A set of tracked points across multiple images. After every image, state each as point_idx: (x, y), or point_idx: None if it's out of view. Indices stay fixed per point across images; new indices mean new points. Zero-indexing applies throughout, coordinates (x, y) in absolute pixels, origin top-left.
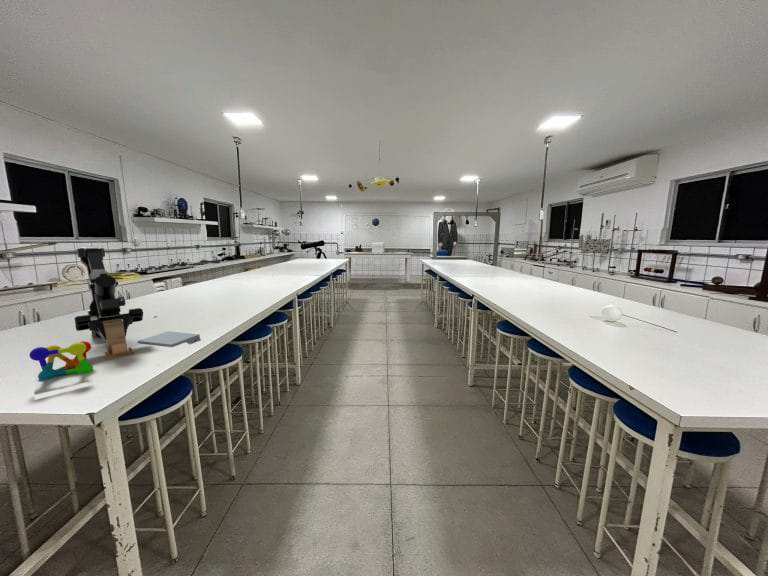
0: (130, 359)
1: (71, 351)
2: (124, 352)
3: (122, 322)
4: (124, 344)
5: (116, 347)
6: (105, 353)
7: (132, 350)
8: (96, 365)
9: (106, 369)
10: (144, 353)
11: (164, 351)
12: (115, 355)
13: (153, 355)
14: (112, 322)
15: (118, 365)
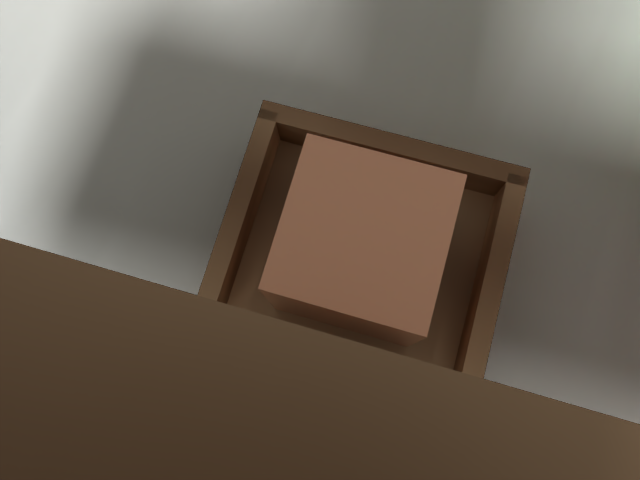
0: (332, 98)
1: None
2: (352, 132)
3: (41, 260)
4: (304, 171)
5: (418, 168)
6: (484, 360)
7: (264, 122)
8: (606, 232)
9: (588, 14)
10: (152, 162)
11: (24, 30)
12: (449, 150)
13: (154, 9)
14: (349, 382)
15: (479, 25)
